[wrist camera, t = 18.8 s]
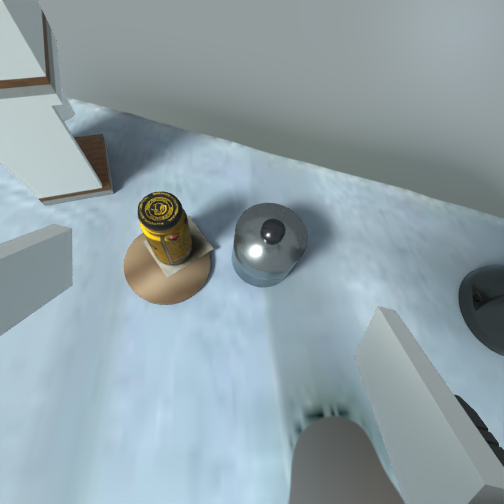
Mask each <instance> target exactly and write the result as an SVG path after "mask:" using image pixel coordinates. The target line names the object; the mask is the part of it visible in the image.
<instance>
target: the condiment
mask: <svg viewBox="0 0 504 504" xmlns="http://www.w3.org/2000/svg"><path fill="white" fill-rule="evenodd" d="M138 218H139V220H140V227H141V230H142V232H143V234H144V236H145V238H146V239H147V240H145V241H143V243H144V244H145V246H146V247H147V249H148V250H149V252H150V253H151V255H152V256H153V258H154V259H155V261H156V262H157V264H158V265H159V267H160V268H161V270H162V271H163V273H164V274H165V276H166V277H167V278H168V277H169V276H171V275H173V274H174V273H176V272H178V271H179V270H181V269H183V268H184V267H186V266H187V265H189V264H190V263H192V262H193V261H195V260H196V259H198V258H200V257H202V256H203V255H205V254H206V253H208V252H209V251H211V250H213V249H214V248H213V247H212V246H211V244H210V243H209V242H208V240H207V239H206V238H205V236H204V235H203V234H202V232H201V231H200V230H199V228H198V227H197V226H196V224H195V223H194V222H193V220H192V219H191V218H190V216H188V217H187V215H186V213H185V211H184V209H183V208H182V205H181V203H180V201H179V200H178V199H177V198H176V197H175V196H174V195H173V194H171V193H168V192H154V193H151V194H149V195H147V196H145V197H144V198H143V200H142V201H141V202H140V203H139V206H138Z"/></svg>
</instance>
